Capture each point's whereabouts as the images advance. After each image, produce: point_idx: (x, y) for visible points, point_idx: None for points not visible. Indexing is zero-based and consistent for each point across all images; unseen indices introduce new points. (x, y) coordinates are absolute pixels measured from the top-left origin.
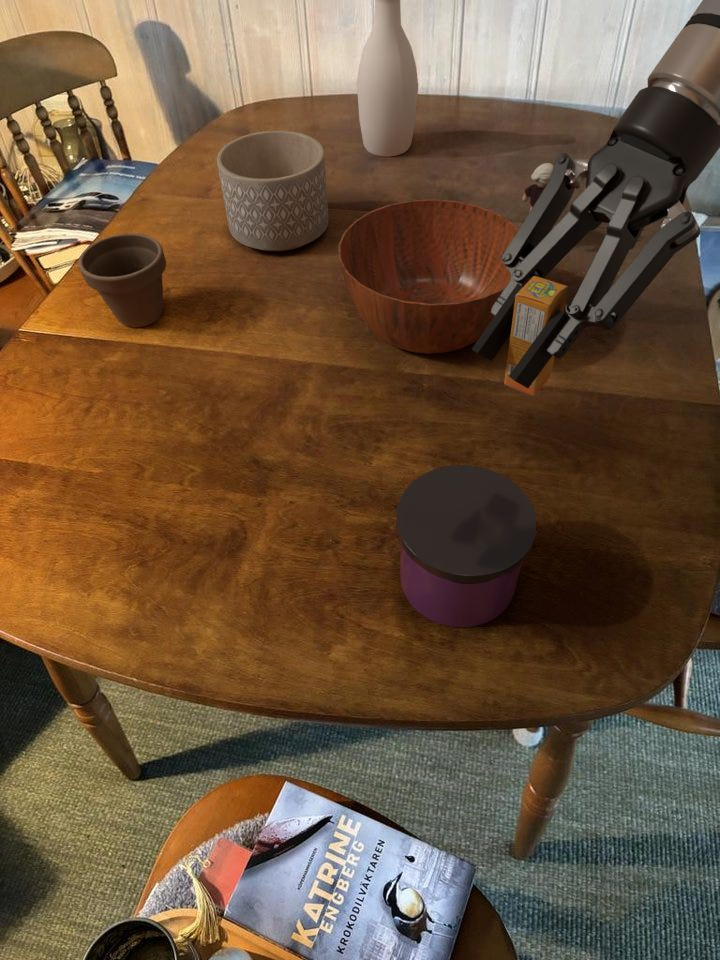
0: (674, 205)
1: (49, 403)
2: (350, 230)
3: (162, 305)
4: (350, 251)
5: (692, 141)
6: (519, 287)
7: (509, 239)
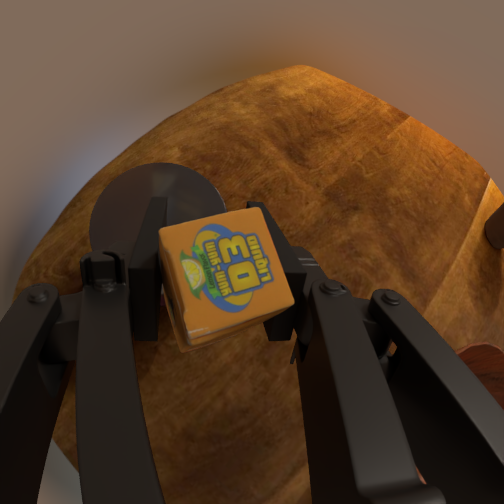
0: None
1: (442, 151)
2: None
3: (496, 244)
4: (499, 375)
5: None
6: (293, 269)
7: None
